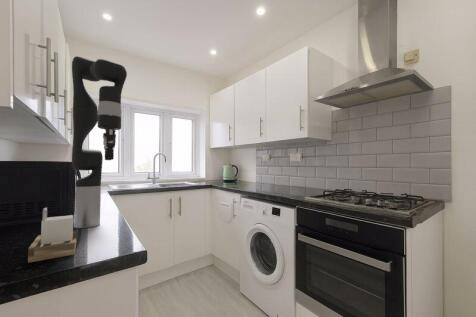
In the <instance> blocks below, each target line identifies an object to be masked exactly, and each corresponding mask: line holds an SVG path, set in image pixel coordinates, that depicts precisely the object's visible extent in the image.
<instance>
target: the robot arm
mask: <svg viewBox="0 0 476 317" xmlns="http://www.w3.org/2000/svg"><path fill="white" fill-rule="evenodd" d="M71 75H72V87H73V88H72V89H73V90H72V91H73V94H72V97H73V98H72V125H73V126H72V128H73V129H72V132H73V133H72V134H73V136H72V148H71V149H72V150H71V167H72V169H73V170H74V171H91V173H89V174H88V175H87V176H84V177H80V178H78V179H76V180H75V189H74V190H75V193H74V194H75V196H74V221H73V228H75V229H87V228H89V229H90V228H94V227H97V226H100V224H101V199H102V198H101V196H102V195H101V194H102V193H101V192H102V191H101V190H102V188H101V187H102V170H103V153H102V151H101V150H99V149H86V148H85V149H84V148H83V145H84V141H85V140H86V138H87V137H88V135H89V134H90V133H91V131H92V130H93V129H94V128H95V127H96V125H97V128H99V129H101V130H105V132H103V133H102V138H103V142H102V143H103V144H102V145H103V149H104V160H105V161H112V160H114V158H115V157H114V156H115V155H114V154H115V153H114V152H115V147H116V142H117V140H116V138H117V133H116V131H119V130H121V129H122V92H123V89H124V85H125V82H126V79H127V75H128V73H127V69H126V67H125V66H123V65H122V64H119V63H116V62H113V61H109V60H106V59H102V58H98V59H96V61H95V60H91V59H89V58H85V57H82V56H77V55H76V56H74V57H73V58H72V62H71ZM83 80H85V81H90V82H99V81H103V82H104V81H105V82H109V83H114V84H113V85H103V86H100V88H99V90H98V105H97V103H96V101H95V100H94V99H93V97H92V96H91V94H90V93H89V92H88V90H87V88H86V86H85V83H84V81H83Z"/></svg>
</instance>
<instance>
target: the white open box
mask: <svg viewBox="0 0 476 317" xmlns="http://www.w3.org/2000/svg"><path fill="white" fill-rule="evenodd" d="M40 230H41V231H40V233H41V234H40V235H41V245H42V244H44V245H43V247H44V246H50V244H51V243H56V242H62V241H65V242H64V243H70V241H71V240H72V237H73V232H74V214H70V215H59V216H49V217H48V207H44V208H43V209H42V220H41V229H40Z"/></svg>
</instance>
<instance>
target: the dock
mask: <svg viewBox="0 0 476 317" xmlns="http://www.w3.org/2000/svg"><path fill="white" fill-rule="evenodd" d="M77 236H78V231H73V237H72V240H71V241H70V243H64V242H65V241H62V242H56V243H51V244H50V246H44V247H43V245H44V244H42V245H41V234H39V235H37V237H35V239H34V241H33V242H32V243H31V244H30V246H29V247H28V249H27V263H28V264H29V263H33V262H40V261H45V260H50V259H56V258H62V257H67V256H68V257H69V256H74V255H75V254H76V247H77V239H78V237H77Z"/></svg>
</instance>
